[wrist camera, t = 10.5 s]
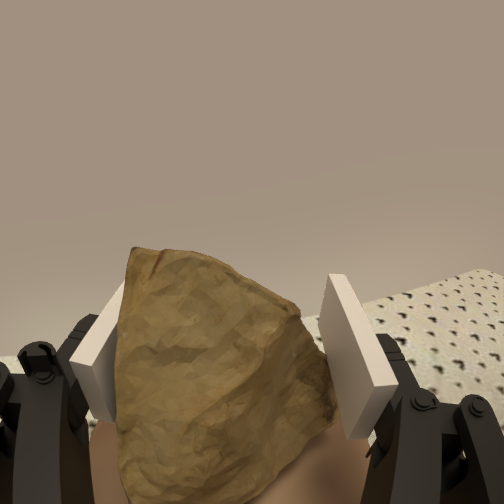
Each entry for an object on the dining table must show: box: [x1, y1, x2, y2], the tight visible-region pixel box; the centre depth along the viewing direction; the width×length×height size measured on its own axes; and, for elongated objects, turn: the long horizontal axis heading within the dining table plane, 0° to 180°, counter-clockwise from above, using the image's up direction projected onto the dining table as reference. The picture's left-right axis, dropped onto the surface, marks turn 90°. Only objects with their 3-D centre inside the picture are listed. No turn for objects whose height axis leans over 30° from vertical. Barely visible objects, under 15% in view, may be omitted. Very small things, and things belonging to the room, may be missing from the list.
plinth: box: [89, 416, 371, 504], centre depth 13 cm, size 15×15×4 cm
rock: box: [114, 247, 341, 504], centre depth 10 cm, size 11×9×10 cm
